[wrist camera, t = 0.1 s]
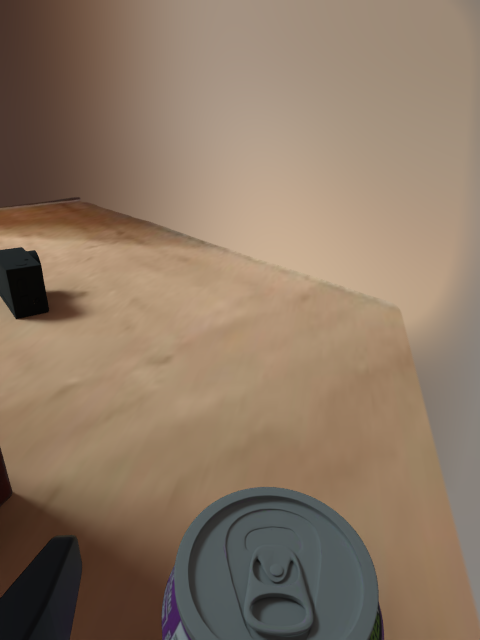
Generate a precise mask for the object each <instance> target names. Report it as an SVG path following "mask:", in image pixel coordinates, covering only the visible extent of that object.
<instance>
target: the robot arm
mask: <svg viewBox="0 0 480 640" xmlns="http://www.w3.org/2000/svg"><path fill="white" fill-rule="evenodd" d="M81 574H82V561H81V555H80V550H79V545H78V540H77V538H76V536H74V535H62V536H55V537H53V538H52V539H51V540H50V541H49V542H48V543H47V544H46V546H45V547H44V548H43V549H42V550H41V551H40V553H39V554H38V555H37V556H36V557H35V558H34V560H33V561H32V562H31V563H30V564H29V565H28V567H27V568H26V569H25V570H24V571H23V572H22V574H21V575H20V576H19V577H18V578H17V579H16V581H15V582H14V583H13V584H12V585H11V586H10V588H9V589H8V590H7V591H6V592H5V593H4V594H3V596H2V597H1V598H0V640H70V635H71V629H72V624H73V618H74V613H75V607H76V602H77V596H78V591H79V585H80V580H81Z"/></svg>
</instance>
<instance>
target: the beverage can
mask: <svg viewBox="0 0 480 640" xmlns="http://www.w3.org/2000/svg"><path fill="white" fill-rule="evenodd" d="M378 600H379V596H378V582H377V576H376V572H375V568H374V565H373V562H372V559H371V557H370V555H369V552H368V550H367V548H366V546H365V545H364V543H363V541H362V540H361V538H360V537H359V535H358V534H357V533H356V531H355V530H354V529H353V528H352V527H351V525H350V524H349V523H348V522H347V521H346V520H345V519H344V518H343V517H342V516H340V515H339V514H338V513H337V512H336V511H334V510H333V509H332V508H330V507H329V506H327V505H326V504H324V503H322V502H321V501H319V500H317V499H315V498H313V497H311V496H308V495H306V494H303V493H300V492H297V491H293V490H289V489H284V488H276V487H258V488H250V489H245V490H241V491H237V492H234V493H231V494H229V495H226V496H224V497H222V498H220V499H219V500H217V501H215V502H214V503H212V504H211V505H209V506H208V507H207V508H206V509H204V510H203V511H202V512H201V513H200V514H199V515H198V516H197V517H196V518H195V520H194V521H193V522H192V523H191V525H190V526H189V528H188V529H187V531H186V533H185V535H184V537H183V539H182V541H181V543H180V546H179V549H178V553H177V557H176V562H175V565H174V567H173V570H172V572H171V574H170V577H169V579H168V582H167V586H166V589H165V594H164V598H163V605H162V639H163V640H384V629H383V620H382V614H381V610H380V605H379V602H378Z"/></svg>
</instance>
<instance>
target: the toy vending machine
mask: <svg viewBox="0 0 480 640" xmlns="http://www.w3.org/2000/svg"><path fill="white" fill-rule="evenodd" d="M12 493H13V492H12V489H11V485H10V481H9V478H8V474H7V470H6V466H5V463H4V459H3V455H2V452H1V448H0V506H1V505H2V504H3V503H4V502H5V501H6V500H7V499H8V498H9V497H10V496H11V495H12Z"/></svg>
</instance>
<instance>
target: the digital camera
mask: <svg viewBox="0 0 480 640" xmlns="http://www.w3.org/2000/svg"><path fill="white" fill-rule="evenodd" d="M0 296H1V298H2V299H3V301H4V302H5V303H6V305H7V306H8V308H9V309H10V311H11V312H12V314H13V315H14V317H15V318H16V319H19V318H24V317H28V316H33V315H38V314H42V313H47V312H49V307H48V302H47V296H46V290H45V285H44V279H43V273H42V267H41V263H40V260H39V257H38V254H37V252H36V251H35V250H33V251H25V250H24V249H23V248H22V247H20V248H13V249H5V250H0ZM34 300H35V301H34ZM33 301H34V302H33ZM34 303H35V304H34Z"/></svg>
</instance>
